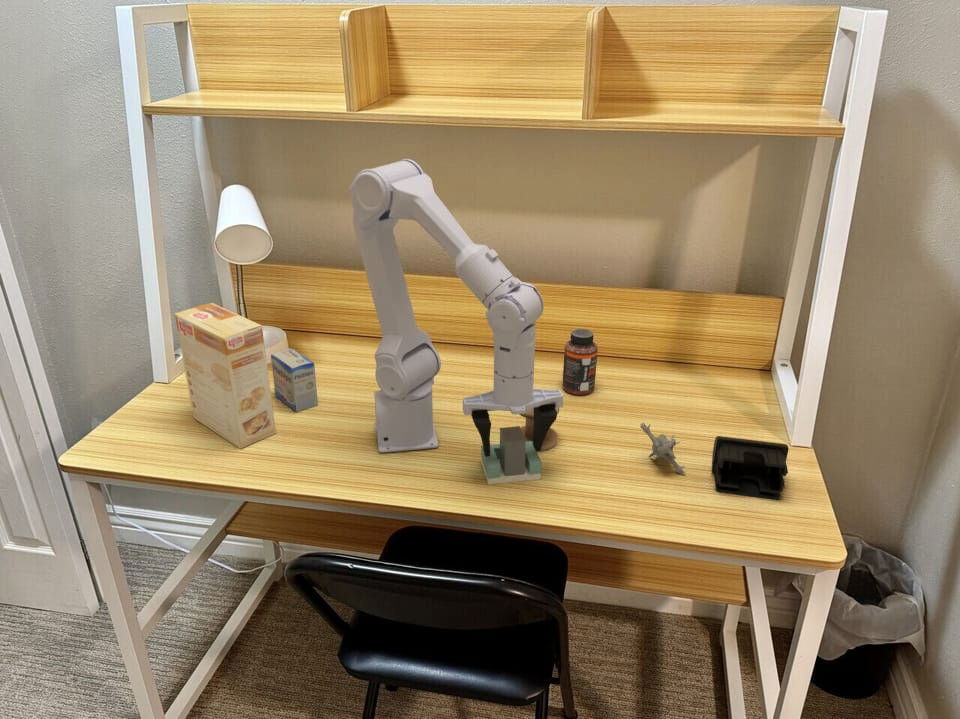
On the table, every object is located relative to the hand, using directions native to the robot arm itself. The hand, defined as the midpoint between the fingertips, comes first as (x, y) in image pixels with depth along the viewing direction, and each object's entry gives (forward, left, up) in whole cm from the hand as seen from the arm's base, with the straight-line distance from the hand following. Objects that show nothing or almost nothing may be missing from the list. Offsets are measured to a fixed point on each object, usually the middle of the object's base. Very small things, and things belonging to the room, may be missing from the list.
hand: (511, 450), depth 113 cm
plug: (0, 0, -3) cm, 3 cm away
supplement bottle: (+18, +24, -4) cm, 31 cm away
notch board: (0, 0, -4) cm, 4 cm away
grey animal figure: (+23, -1, -4) cm, 24 cm away
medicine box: (-33, +28, -4) cm, 44 cm away
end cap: (+34, -8, -4) cm, 35 cm away
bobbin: (+6, +8, -4) cm, 11 cm away
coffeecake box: (-43, +22, -4) cm, 48 cm away
